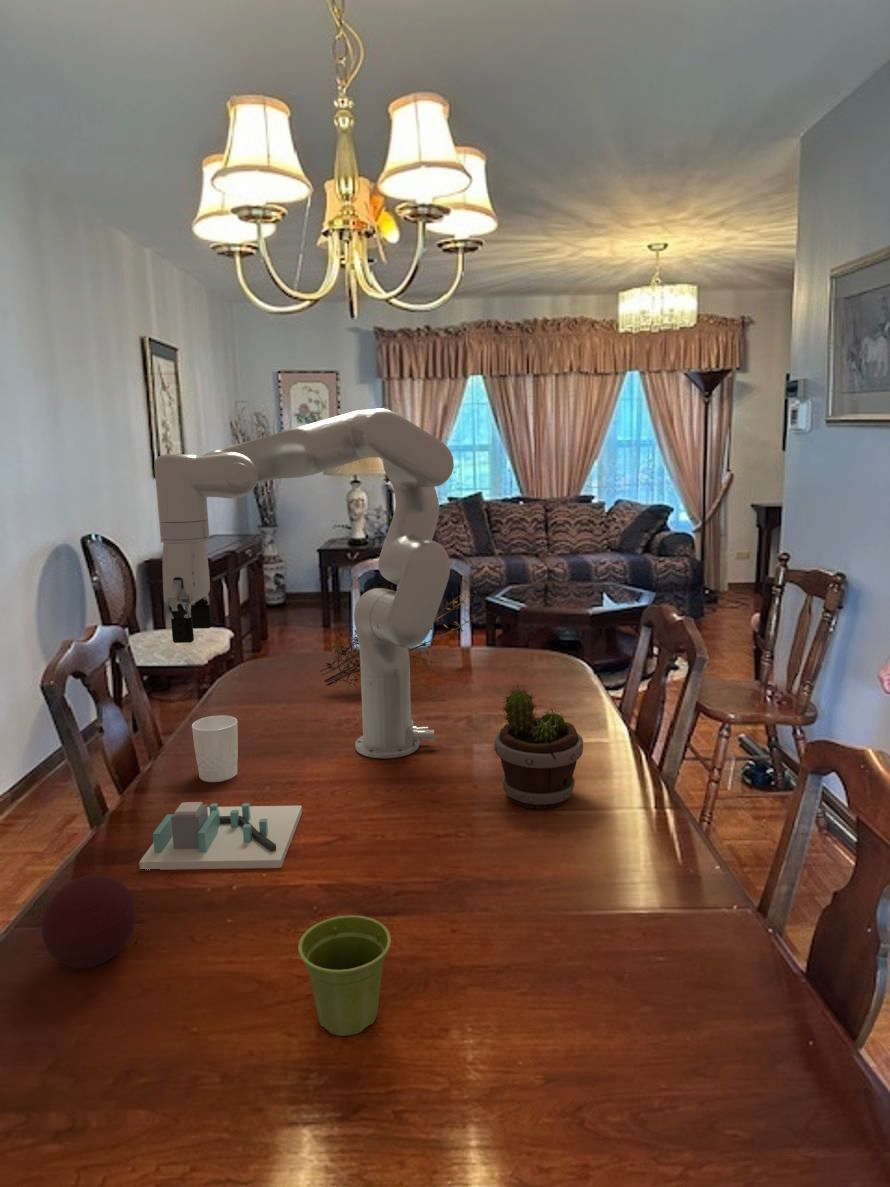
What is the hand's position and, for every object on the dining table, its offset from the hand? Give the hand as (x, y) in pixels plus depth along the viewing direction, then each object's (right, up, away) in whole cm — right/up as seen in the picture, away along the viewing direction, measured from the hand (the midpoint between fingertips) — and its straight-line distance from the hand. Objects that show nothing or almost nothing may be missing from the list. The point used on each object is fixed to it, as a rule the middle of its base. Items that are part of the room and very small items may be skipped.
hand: (193, 634), depth 130 cm
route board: (+8, -31, -10) cm, 33 cm away
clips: (+10, -29, -10) cm, 32 cm away
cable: (+10, -30, -12) cm, 34 cm away
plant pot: (+32, -38, -48) cm, 68 cm away
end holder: (+3, -30, -13) cm, 33 cm away
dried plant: (+33, -17, +62) cm, 72 cm away
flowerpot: (+57, -28, +2) cm, 64 cm away
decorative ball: (0, -36, -38) cm, 52 cm away
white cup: (0, -26, +13) cm, 30 cm away
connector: (+4, -30, -13) cm, 33 cm away
